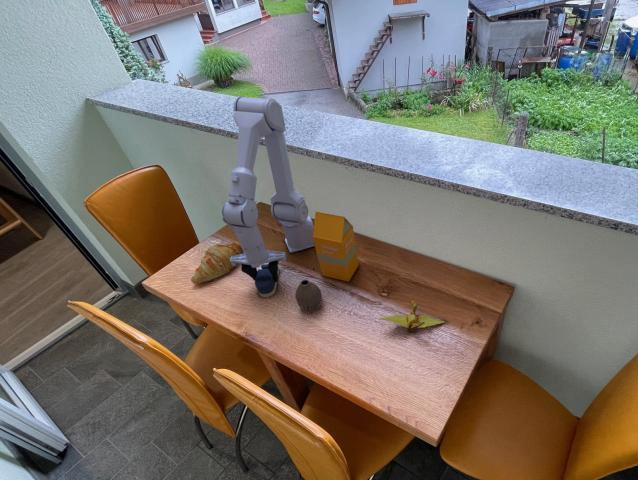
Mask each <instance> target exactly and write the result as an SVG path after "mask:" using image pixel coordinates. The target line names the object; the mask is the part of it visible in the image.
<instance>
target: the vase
mask: <svg viewBox="0 0 638 480" xmlns="http://www.w3.org/2000/svg"><path fill="white" fill-rule="evenodd" d="M294 293H295V294H294V295H295V301H296V303H297V305H298V306H299V307H300V308H301V309H302V310H305V311H314V310H317V309H318V308H319V307H320V306H321V304H322V303H323V293H322V290H321V289H320V287H319V286H318V285H317V284H316V283H314V282H312V281H310V280H309V279H302V280H301V281H300V282H299V284H298V286H297V287H296V289H295V292H294Z"/></svg>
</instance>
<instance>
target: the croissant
mask: <svg viewBox="0 0 638 480" xmlns="http://www.w3.org/2000/svg"><path fill="white" fill-rule="evenodd" d="M240 254H244V252H243V250H242V247H241V245H240V243H239V241H238V240H234V241H232V242H231V243H223V244H215V245H212V246H209V247H208V248H207V249H206V250H205V255H204V256H202V258H201V260H200V264H199V265H198V267H197V268H195V270H194V275H193V276H191V278H190V282H191V283H193V284H201V283H205V282H208V281H211V280H213V279H216V278H219V277H221V276H223V275H226V274H229V273H230V271H231V270H232V269H233V268H235V266H232V264H231V262H230V259H231V256H236V255H240Z"/></svg>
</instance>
